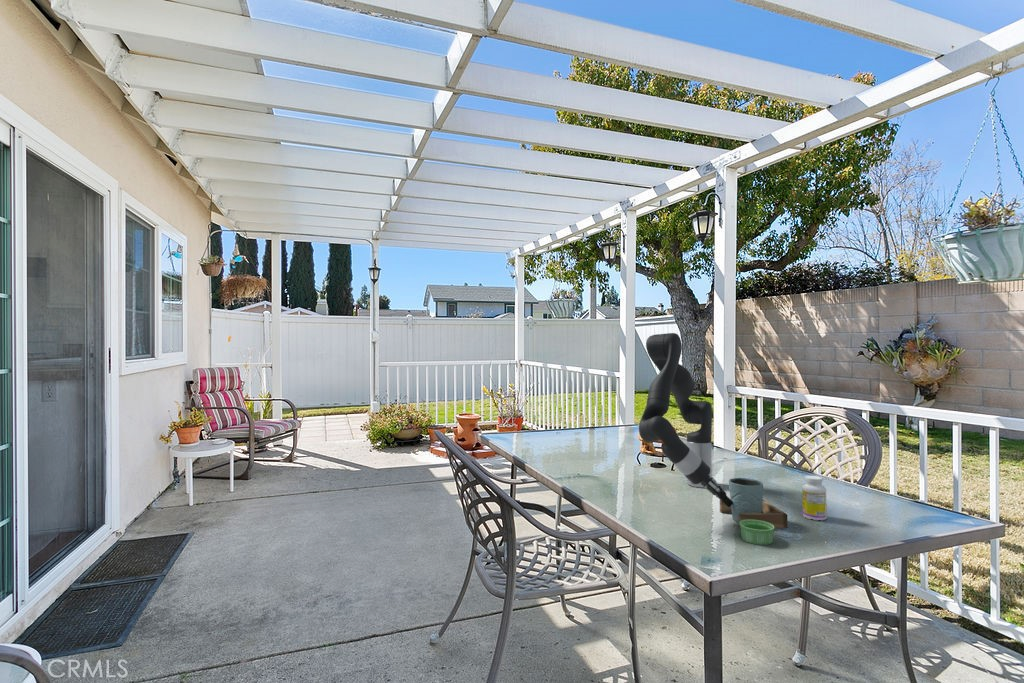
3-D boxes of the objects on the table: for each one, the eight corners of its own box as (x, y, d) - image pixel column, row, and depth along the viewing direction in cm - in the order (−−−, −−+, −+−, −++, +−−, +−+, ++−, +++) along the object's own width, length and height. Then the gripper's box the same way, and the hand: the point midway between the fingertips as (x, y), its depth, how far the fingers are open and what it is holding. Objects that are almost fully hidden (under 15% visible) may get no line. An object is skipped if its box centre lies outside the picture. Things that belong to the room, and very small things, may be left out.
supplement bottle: (806, 512, 167) (805, 473, 167) (829, 517, 162) (828, 477, 162) (799, 517, 162) (799, 477, 162) (823, 522, 157) (822, 481, 158)
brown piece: (719, 511, 169) (719, 499, 169) (762, 511, 169) (762, 499, 169) (740, 528, 154) (740, 514, 154) (787, 527, 154) (787, 514, 154)
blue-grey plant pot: (746, 526, 155) (745, 486, 155) (721, 516, 164) (721, 479, 165) (771, 522, 158) (771, 483, 158) (746, 512, 168) (746, 476, 168)
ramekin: (749, 532, 151) (749, 517, 151) (780, 541, 143) (780, 525, 143) (733, 539, 145) (733, 523, 145) (764, 548, 138) (764, 532, 138)
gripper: (707, 461, 155) (748, 502, 155) (692, 453, 168) (730, 490, 168) (690, 479, 155) (730, 519, 155) (676, 469, 168) (714, 506, 168)
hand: (730, 504), depth 161 cm, fingers closed
